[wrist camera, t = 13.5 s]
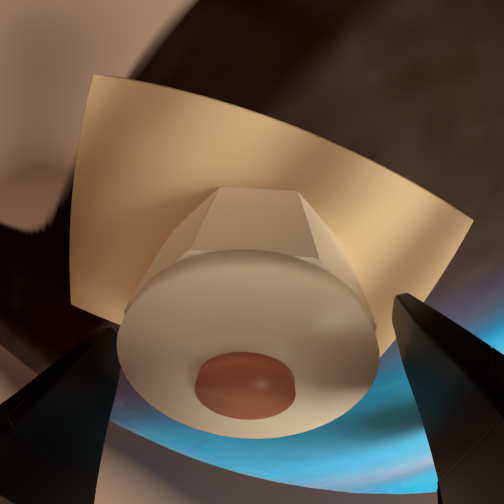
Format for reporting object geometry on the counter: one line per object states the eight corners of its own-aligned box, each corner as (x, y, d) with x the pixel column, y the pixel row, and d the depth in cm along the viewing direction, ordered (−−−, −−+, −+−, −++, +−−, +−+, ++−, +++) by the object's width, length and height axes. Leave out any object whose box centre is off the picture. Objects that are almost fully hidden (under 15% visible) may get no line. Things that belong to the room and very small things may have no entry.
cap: (249, 351, 14) (241, 461, 9) (140, 261, 12) (73, 367, 7) (368, 274, 12) (419, 390, 6) (261, 146, 9) (254, 204, 4)
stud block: (461, 211, 11) (532, 272, 6) (350, 374, 16) (365, 449, 11) (106, 75, 9) (14, 75, 4) (79, 293, 14) (31, 361, 10)
